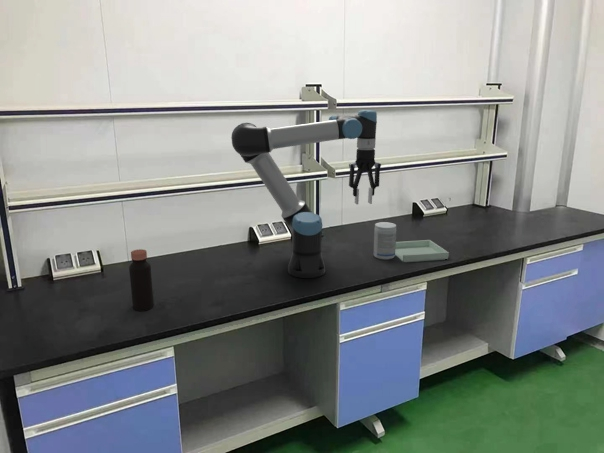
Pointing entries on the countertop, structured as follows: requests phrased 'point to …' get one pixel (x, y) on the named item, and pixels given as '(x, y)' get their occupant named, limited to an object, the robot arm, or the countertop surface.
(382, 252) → the supplement tub
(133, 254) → the bottle
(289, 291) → the countertop surface
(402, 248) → the tray
